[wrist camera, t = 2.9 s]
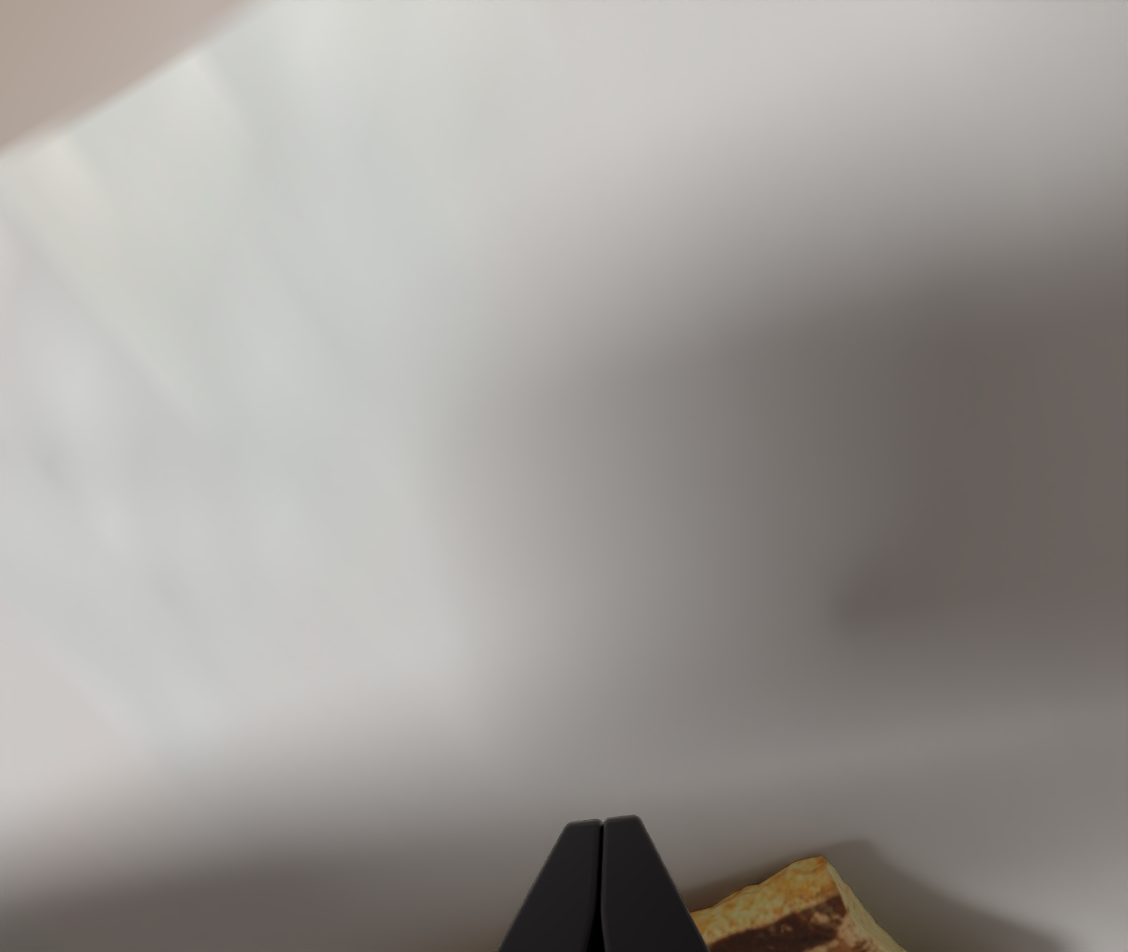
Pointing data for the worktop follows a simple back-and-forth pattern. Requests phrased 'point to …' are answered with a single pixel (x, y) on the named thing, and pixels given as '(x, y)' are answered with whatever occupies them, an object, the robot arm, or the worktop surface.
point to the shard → (794, 915)
